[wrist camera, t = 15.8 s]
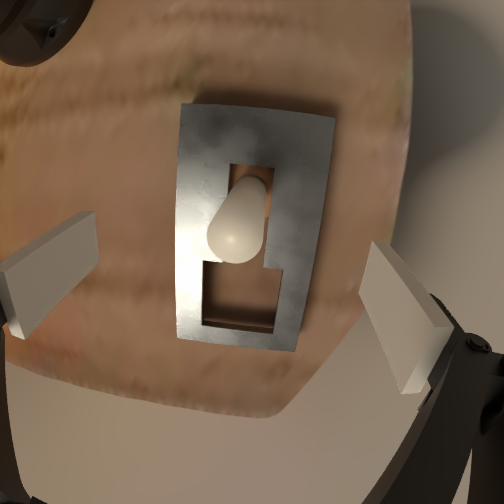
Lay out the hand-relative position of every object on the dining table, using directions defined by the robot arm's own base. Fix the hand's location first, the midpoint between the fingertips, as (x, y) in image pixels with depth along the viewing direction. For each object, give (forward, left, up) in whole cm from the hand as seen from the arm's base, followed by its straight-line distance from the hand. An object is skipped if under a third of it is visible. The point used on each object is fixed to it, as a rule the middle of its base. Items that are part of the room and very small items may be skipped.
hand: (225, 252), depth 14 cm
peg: (0, 0, -17) cm, 17 cm away
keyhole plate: (+5, 0, -17) cm, 17 cm away
